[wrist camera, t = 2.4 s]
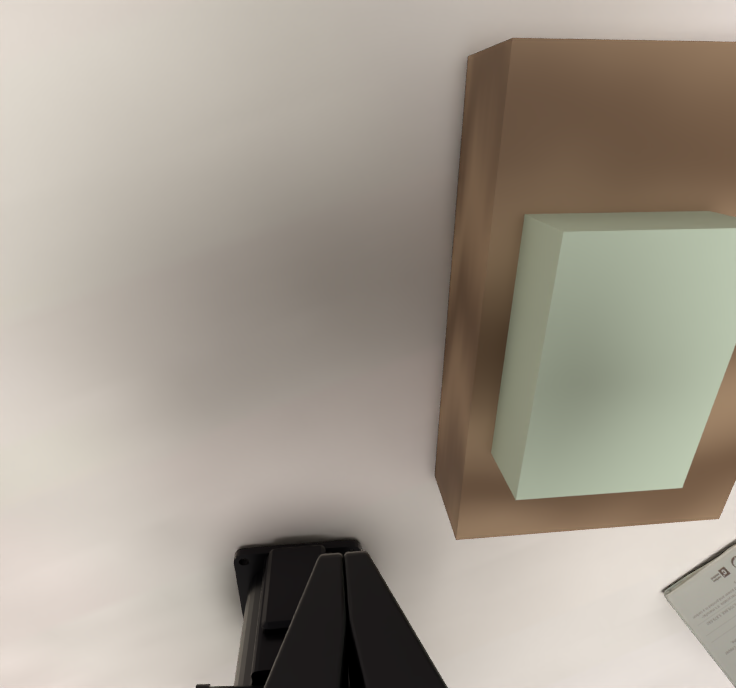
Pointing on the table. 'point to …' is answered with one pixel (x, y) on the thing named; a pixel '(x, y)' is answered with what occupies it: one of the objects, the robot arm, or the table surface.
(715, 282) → the sage tile
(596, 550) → the table surface
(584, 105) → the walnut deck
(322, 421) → the table surface
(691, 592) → the skincare box
